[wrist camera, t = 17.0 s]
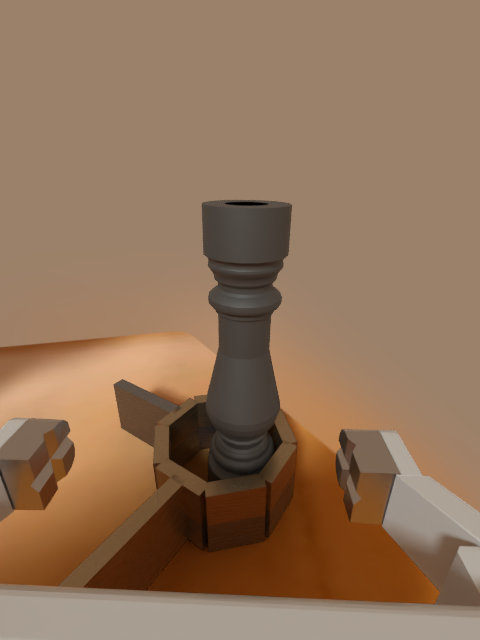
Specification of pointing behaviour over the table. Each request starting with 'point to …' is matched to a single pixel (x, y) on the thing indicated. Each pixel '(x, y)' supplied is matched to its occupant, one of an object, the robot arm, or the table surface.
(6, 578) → the table surface
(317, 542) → the table surface
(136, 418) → the octagonal collar with flanges
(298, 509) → the table surface
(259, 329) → the candle holder
